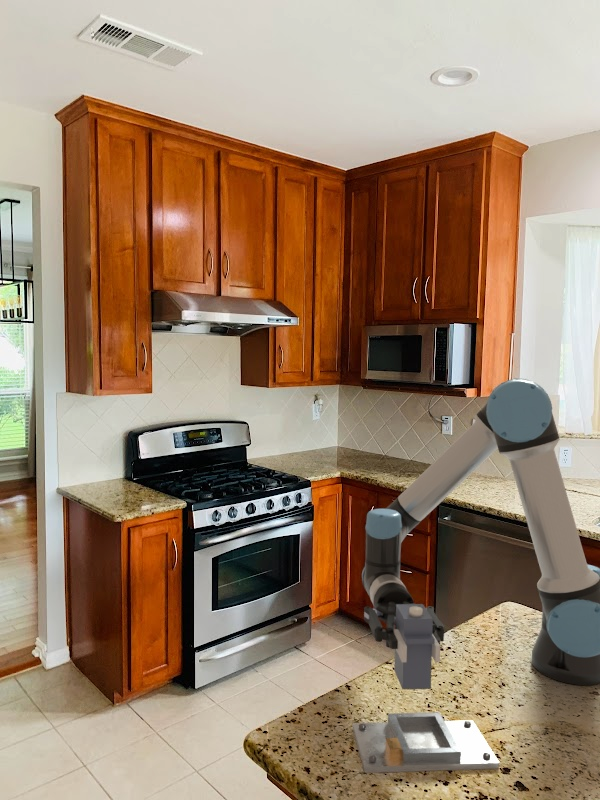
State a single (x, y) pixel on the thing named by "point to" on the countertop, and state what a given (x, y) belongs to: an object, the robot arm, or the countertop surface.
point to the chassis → (422, 744)
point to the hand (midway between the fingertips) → (421, 653)
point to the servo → (414, 646)
